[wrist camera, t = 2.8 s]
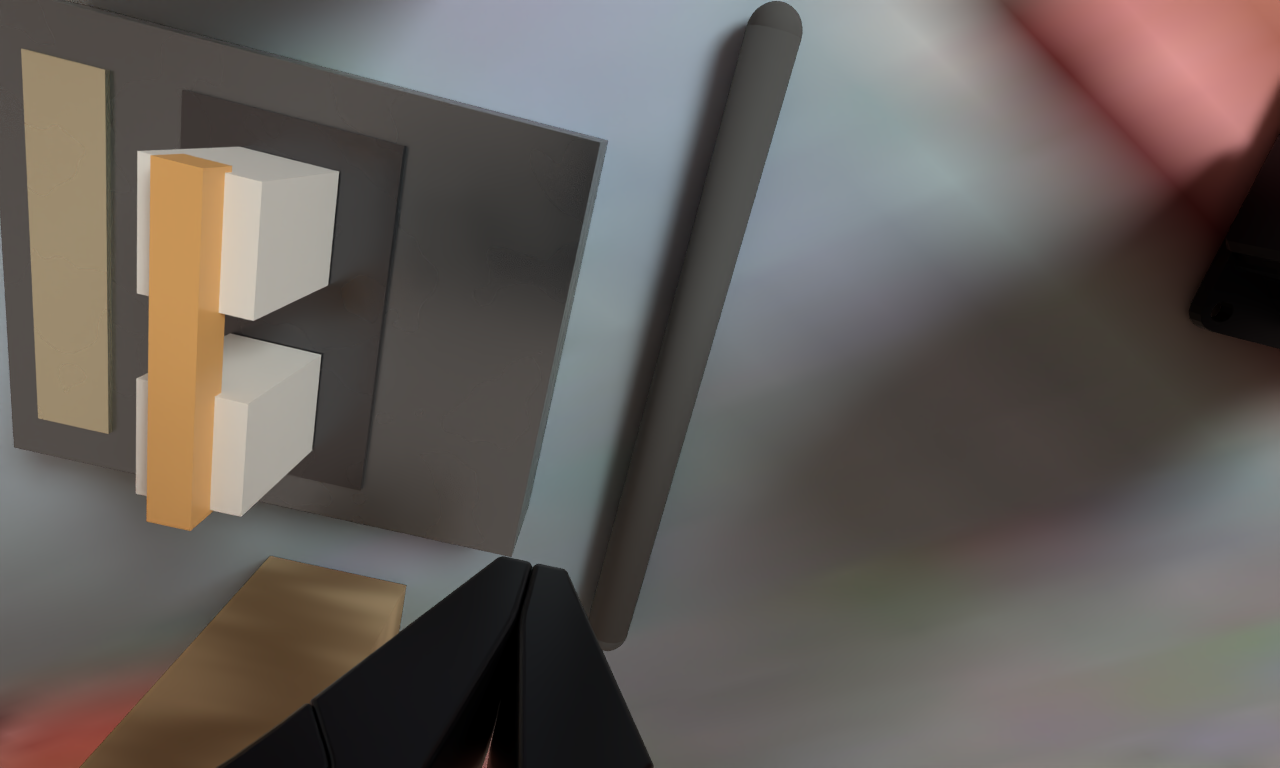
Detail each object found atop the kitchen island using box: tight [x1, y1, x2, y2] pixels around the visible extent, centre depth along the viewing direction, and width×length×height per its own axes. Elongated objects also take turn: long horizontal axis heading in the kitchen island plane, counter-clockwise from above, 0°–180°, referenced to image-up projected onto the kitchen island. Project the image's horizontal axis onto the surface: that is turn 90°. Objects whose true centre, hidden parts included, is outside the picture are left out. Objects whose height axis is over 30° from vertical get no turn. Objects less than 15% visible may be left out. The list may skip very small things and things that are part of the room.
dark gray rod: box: [588, 1, 802, 651], centre depth 18 cm, size 1×17×1 cm, turn 166°
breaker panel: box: [0, 0, 608, 557], centre depth 17 cm, size 12×10×3 cm
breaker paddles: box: [136, 147, 339, 531], centre depth 14 cm, size 2×7×4 cm, turn 166°
